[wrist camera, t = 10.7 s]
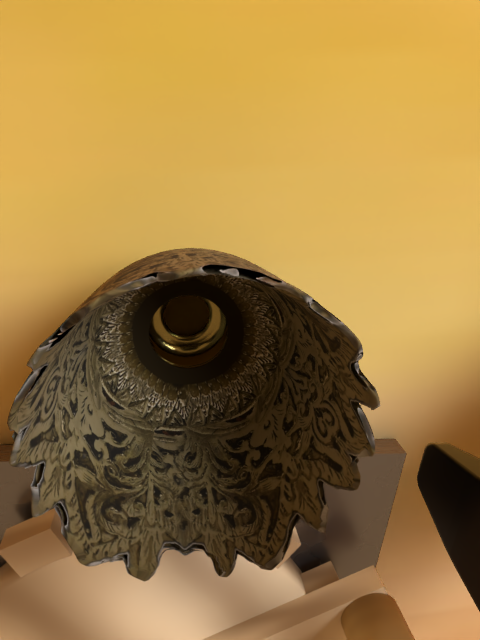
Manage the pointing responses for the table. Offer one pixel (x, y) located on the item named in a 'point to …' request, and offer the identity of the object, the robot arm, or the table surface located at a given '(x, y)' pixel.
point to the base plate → (316, 548)
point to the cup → (192, 416)
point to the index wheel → (182, 597)
